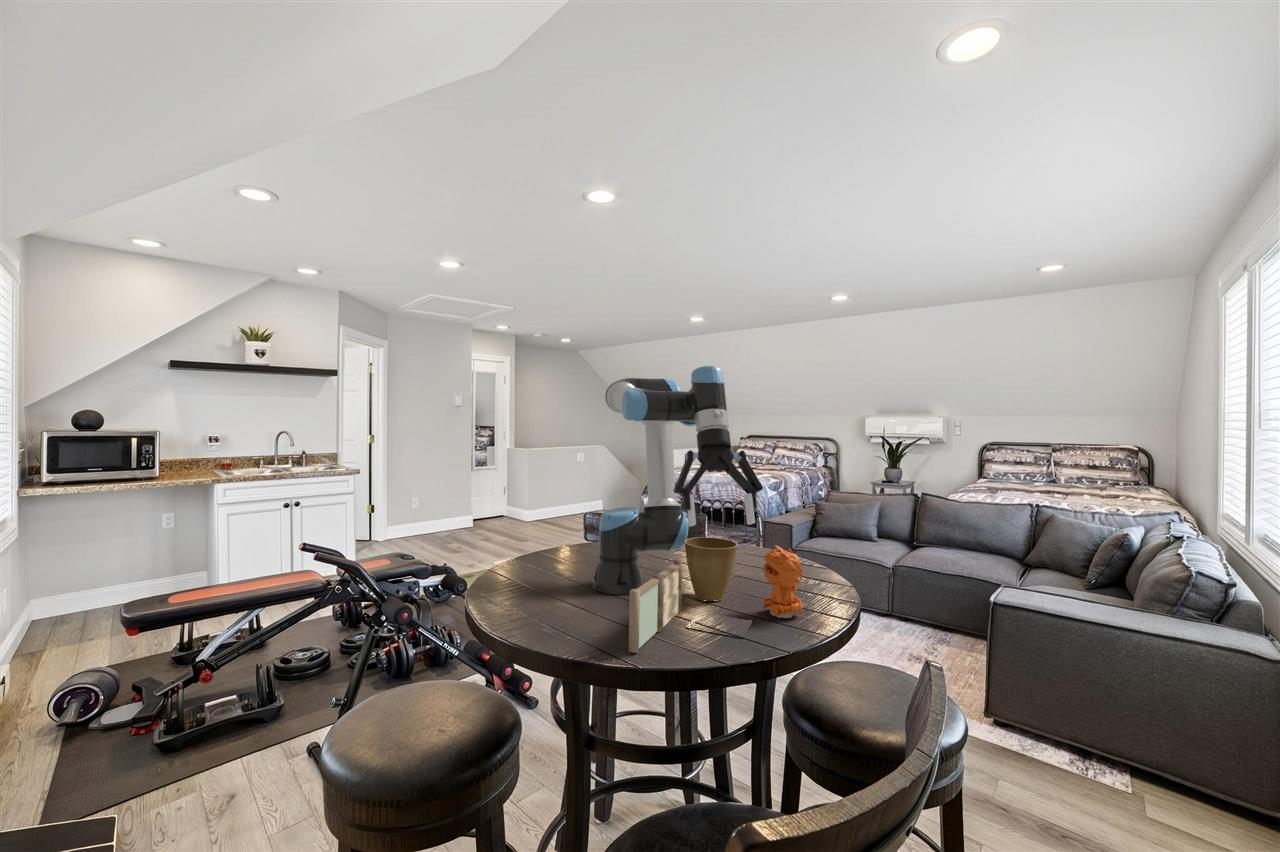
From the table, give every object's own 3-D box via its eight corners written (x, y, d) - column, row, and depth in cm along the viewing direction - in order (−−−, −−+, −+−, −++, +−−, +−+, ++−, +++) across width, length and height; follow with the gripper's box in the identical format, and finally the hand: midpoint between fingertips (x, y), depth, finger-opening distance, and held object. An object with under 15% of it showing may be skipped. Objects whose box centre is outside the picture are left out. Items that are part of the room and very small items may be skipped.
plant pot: (720, 611, 144) (721, 551, 143) (673, 599, 153) (674, 542, 152) (745, 597, 155) (746, 541, 155) (700, 586, 164) (701, 534, 164)
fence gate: (650, 630, 128) (651, 575, 128) (659, 631, 128) (660, 576, 127) (627, 651, 116) (628, 591, 116) (636, 653, 116) (637, 592, 115)
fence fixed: (673, 610, 144) (674, 559, 144) (683, 611, 143) (684, 560, 143) (650, 631, 129) (651, 575, 129) (660, 633, 128) (661, 576, 128)
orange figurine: (771, 604, 150) (772, 539, 149) (809, 613, 143) (811, 545, 142) (752, 615, 141) (753, 546, 141) (792, 625, 134) (793, 553, 134)
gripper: (664, 425, 118) (672, 523, 112) (769, 427, 124) (782, 520, 117) (656, 435, 125) (662, 528, 119) (756, 436, 131) (767, 525, 124)
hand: (722, 524), depth 118 cm, fingers open, 13 cm apart
